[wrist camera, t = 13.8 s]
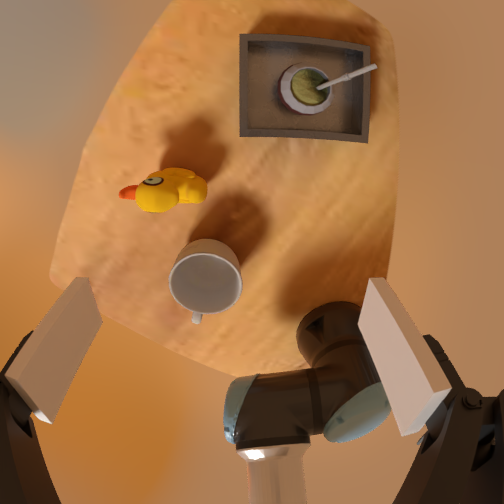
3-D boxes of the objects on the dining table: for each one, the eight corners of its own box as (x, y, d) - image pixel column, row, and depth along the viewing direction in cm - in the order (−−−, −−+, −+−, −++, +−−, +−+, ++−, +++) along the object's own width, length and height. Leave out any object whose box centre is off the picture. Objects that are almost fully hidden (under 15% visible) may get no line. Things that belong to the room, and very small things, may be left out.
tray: (354, 139, 40) (367, 143, 35) (240, 133, 40) (239, 136, 35) (356, 52, 34) (370, 46, 29) (240, 43, 33) (239, 33, 29)
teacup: (193, 220, 46) (183, 241, 39) (254, 248, 48) (255, 273, 41) (165, 285, 51) (153, 312, 44) (219, 308, 54) (215, 338, 47)
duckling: (139, 195, 44) (114, 218, 35) (140, 162, 41) (113, 177, 32) (209, 202, 44) (199, 226, 36) (212, 168, 42) (202, 184, 33)
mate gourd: (266, 102, 37) (275, 96, 23) (288, 55, 34) (309, 27, 20) (314, 124, 38) (347, 131, 25) (336, 78, 35) (379, 65, 22)
